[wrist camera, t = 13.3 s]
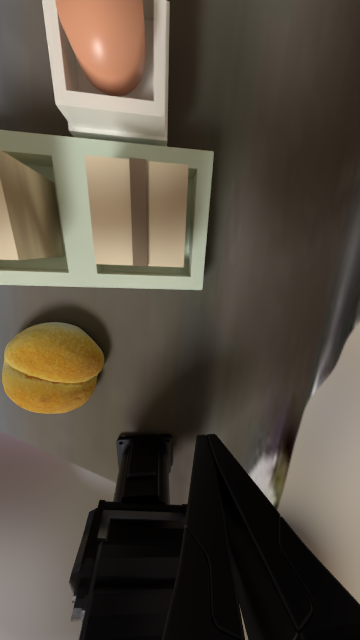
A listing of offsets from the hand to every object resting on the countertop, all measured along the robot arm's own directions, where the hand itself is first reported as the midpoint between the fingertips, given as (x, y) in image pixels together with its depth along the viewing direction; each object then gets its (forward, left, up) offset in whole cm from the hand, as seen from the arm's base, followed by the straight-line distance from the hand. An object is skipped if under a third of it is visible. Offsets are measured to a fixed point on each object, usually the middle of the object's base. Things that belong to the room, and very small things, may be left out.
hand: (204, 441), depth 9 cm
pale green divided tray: (+9, +8, -12) cm, 17 cm away
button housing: (+17, +5, -12) cm, 22 cm away
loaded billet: (+9, +3, -11) cm, 15 cm away
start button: (+17, +5, -9) cm, 20 cm away
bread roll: (-3, +12, -12) cm, 17 cm away
